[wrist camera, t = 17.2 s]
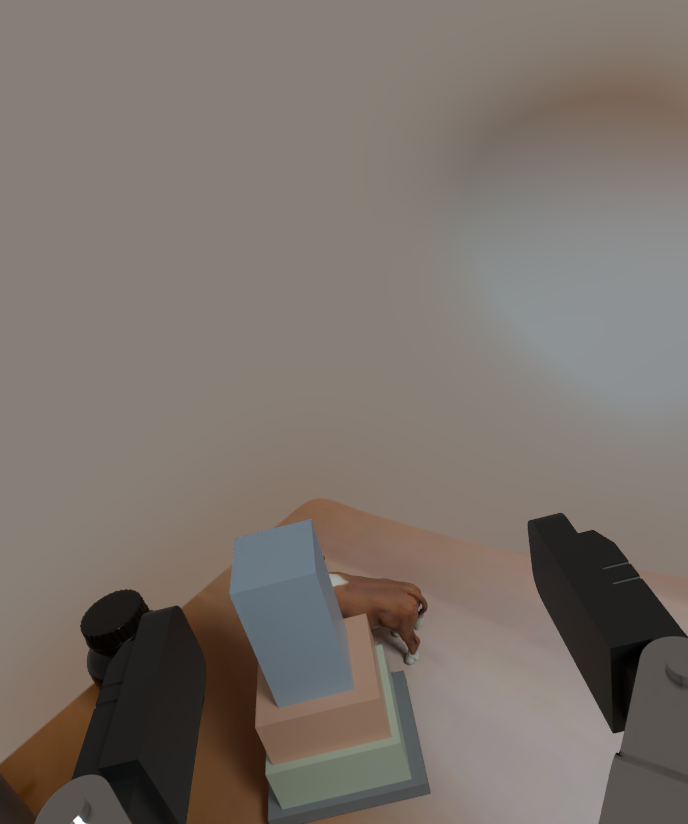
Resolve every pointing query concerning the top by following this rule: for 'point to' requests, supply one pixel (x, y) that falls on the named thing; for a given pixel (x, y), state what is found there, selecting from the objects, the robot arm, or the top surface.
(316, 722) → the brick tower
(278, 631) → the column brick
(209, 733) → the top surface
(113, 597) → the supplement bottle
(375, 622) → the bull figurine
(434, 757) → the top surface
